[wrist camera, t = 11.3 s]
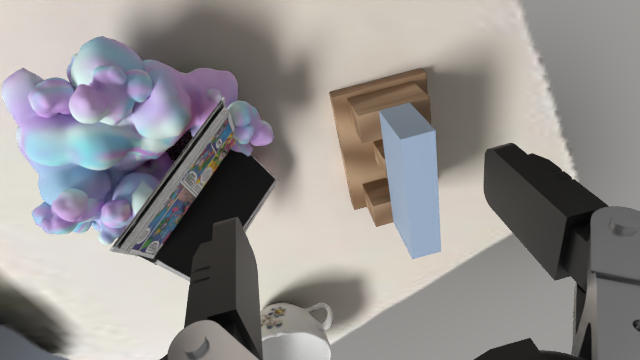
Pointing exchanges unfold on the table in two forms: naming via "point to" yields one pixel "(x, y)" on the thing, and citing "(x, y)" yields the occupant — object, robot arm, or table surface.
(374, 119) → the stand
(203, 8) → the table surface
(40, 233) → the table surface
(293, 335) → the teacup
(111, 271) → the table surface
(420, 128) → the frame bar
